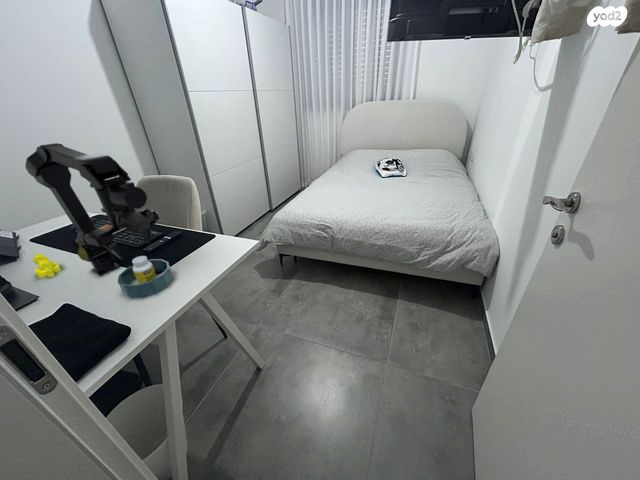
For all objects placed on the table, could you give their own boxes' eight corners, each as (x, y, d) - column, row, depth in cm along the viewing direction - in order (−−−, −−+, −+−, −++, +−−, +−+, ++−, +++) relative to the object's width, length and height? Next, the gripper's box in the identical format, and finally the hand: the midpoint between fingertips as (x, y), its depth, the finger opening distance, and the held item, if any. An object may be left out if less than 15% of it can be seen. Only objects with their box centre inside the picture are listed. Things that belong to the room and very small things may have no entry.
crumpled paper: (40, 280, 88) (27, 261, 85) (36, 272, 93) (24, 254, 89) (63, 272, 92) (51, 254, 89) (58, 264, 97) (46, 246, 93)
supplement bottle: (150, 289, 83) (139, 264, 78) (136, 287, 84) (124, 263, 79) (162, 279, 88) (152, 255, 83) (148, 277, 89) (138, 253, 84)
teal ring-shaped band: (115, 289, 84) (109, 276, 81) (157, 266, 94) (153, 255, 92) (139, 304, 78) (133, 291, 75) (182, 278, 88) (177, 266, 86)
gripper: (100, 221, 62) (125, 273, 70) (164, 195, 77) (179, 240, 85) (70, 215, 65) (97, 265, 73) (137, 191, 80) (154, 235, 88)
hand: (135, 250), depth 80 cm, fingers open, 9 cm apart
